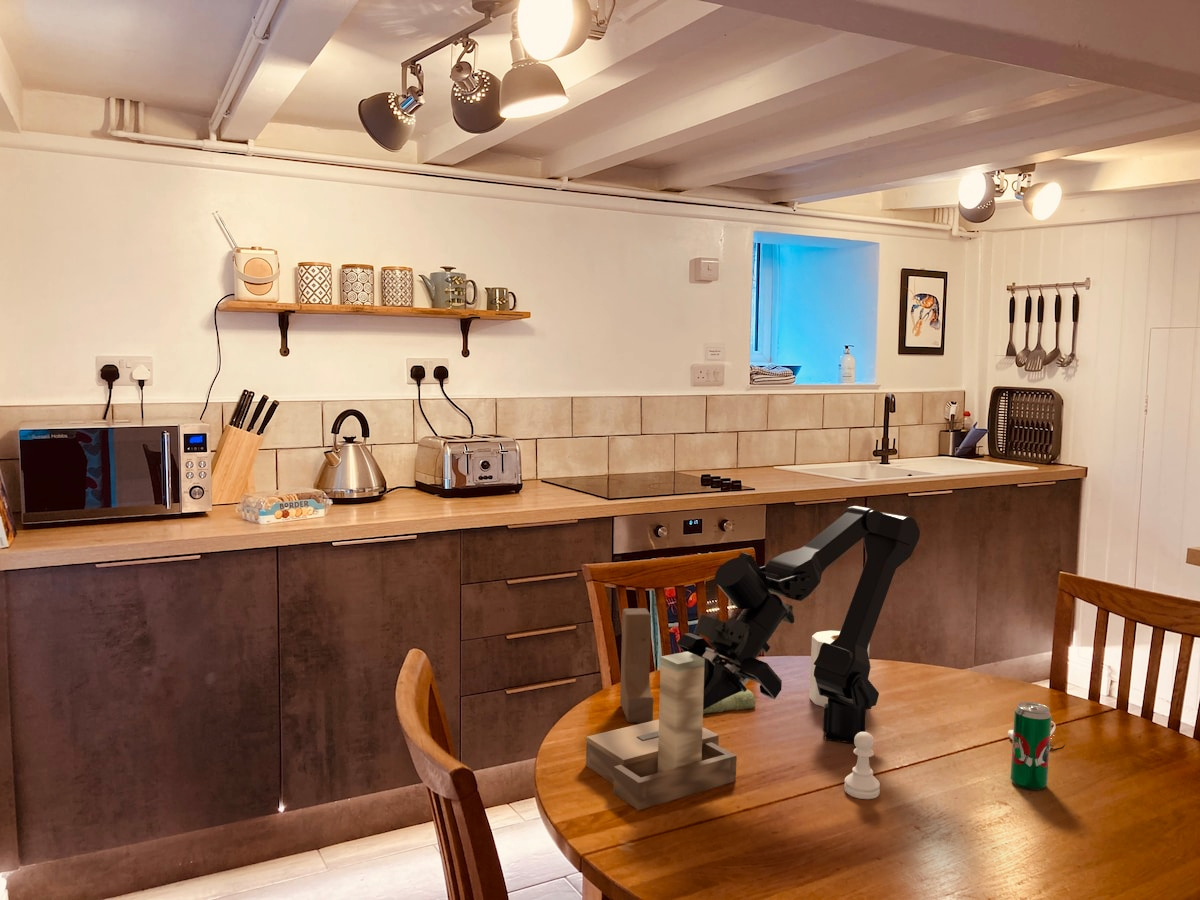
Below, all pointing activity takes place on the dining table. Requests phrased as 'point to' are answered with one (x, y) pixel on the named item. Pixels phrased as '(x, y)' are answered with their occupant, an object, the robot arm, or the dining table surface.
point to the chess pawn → (862, 770)
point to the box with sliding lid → (655, 765)
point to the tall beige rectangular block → (680, 710)
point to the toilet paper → (816, 644)
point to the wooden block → (636, 666)
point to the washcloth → (733, 702)
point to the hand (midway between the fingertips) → (695, 709)
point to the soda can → (1031, 746)
